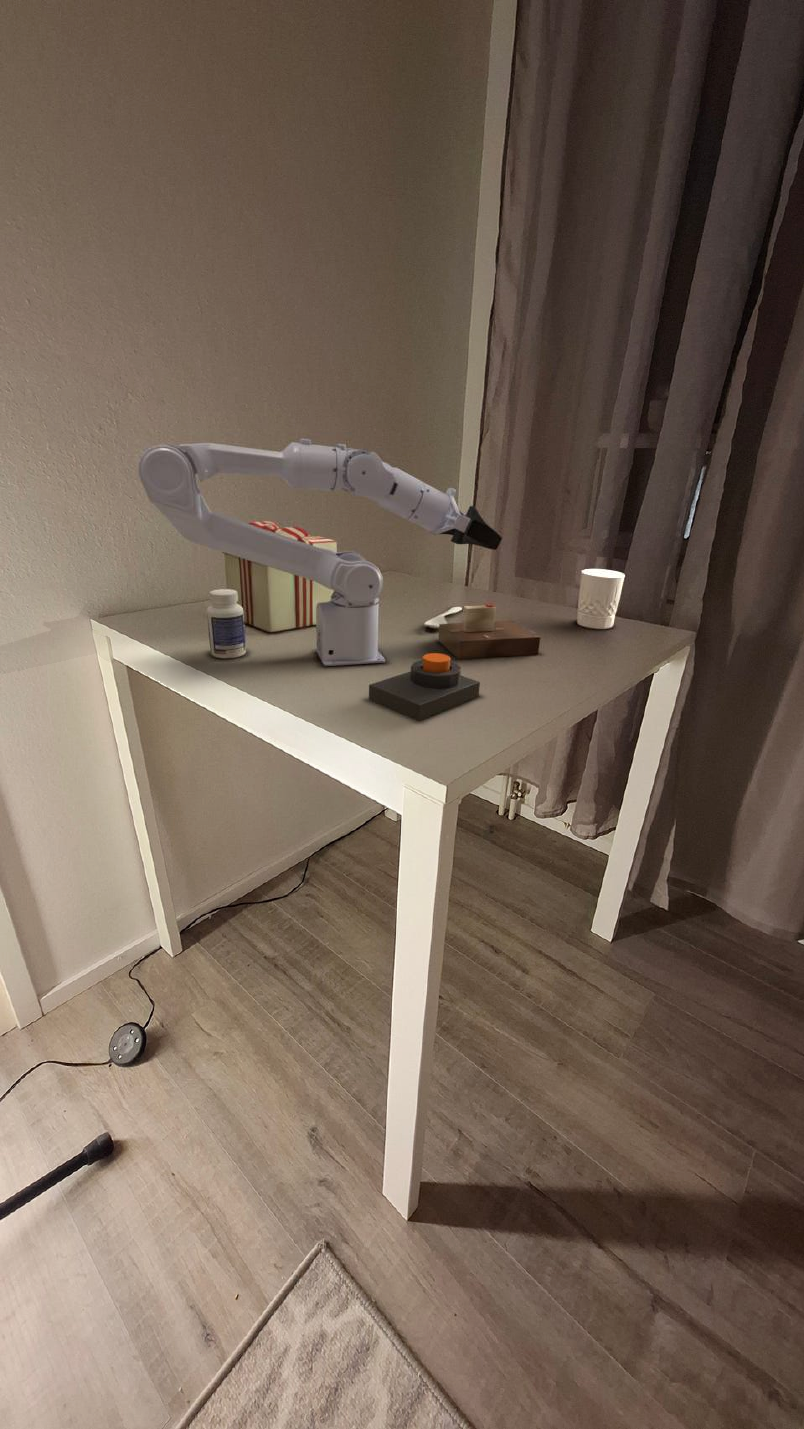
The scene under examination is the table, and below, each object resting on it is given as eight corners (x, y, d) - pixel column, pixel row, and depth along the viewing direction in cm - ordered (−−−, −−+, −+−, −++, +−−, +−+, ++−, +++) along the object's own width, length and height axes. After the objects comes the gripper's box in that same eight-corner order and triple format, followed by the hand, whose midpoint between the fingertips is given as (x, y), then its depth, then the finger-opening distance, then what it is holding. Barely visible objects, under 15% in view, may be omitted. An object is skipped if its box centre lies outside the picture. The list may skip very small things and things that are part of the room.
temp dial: (465, 632, 101) (467, 607, 99) (461, 629, 102) (463, 604, 100) (493, 631, 102) (495, 605, 100) (489, 628, 103) (491, 603, 102)
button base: (418, 721, 75) (420, 691, 74) (368, 700, 81) (368, 671, 79) (478, 696, 83) (481, 669, 82) (429, 679, 89) (430, 652, 87)
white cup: (582, 617, 125) (590, 567, 121) (621, 624, 121) (630, 572, 116) (567, 624, 119) (575, 572, 115) (607, 632, 115) (617, 579, 111)
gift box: (352, 617, 118) (352, 524, 111) (274, 636, 105) (269, 532, 98) (294, 601, 128) (291, 515, 121) (217, 617, 115) (209, 521, 108)
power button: (437, 676, 80) (438, 663, 79) (416, 669, 82) (417, 656, 81) (454, 670, 82) (455, 657, 81) (434, 663, 84) (435, 651, 83)
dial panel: (458, 659, 97) (460, 640, 96) (438, 640, 106) (439, 623, 105) (538, 654, 101) (540, 635, 100) (512, 636, 110) (513, 619, 109)
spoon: (418, 631, 111) (419, 622, 110) (449, 606, 129) (449, 598, 128) (440, 634, 110) (441, 625, 109) (468, 608, 128) (469, 601, 127)
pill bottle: (253, 654, 96) (249, 592, 92) (223, 661, 92) (217, 597, 89) (234, 646, 99) (229, 586, 95) (204, 653, 96) (197, 591, 92)
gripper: (442, 477, 82) (521, 521, 88) (410, 470, 95) (481, 509, 101) (420, 527, 84) (498, 566, 90) (391, 514, 97) (461, 549, 102)
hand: (488, 539), depth 95 cm, fingers open, 7 cm apart
